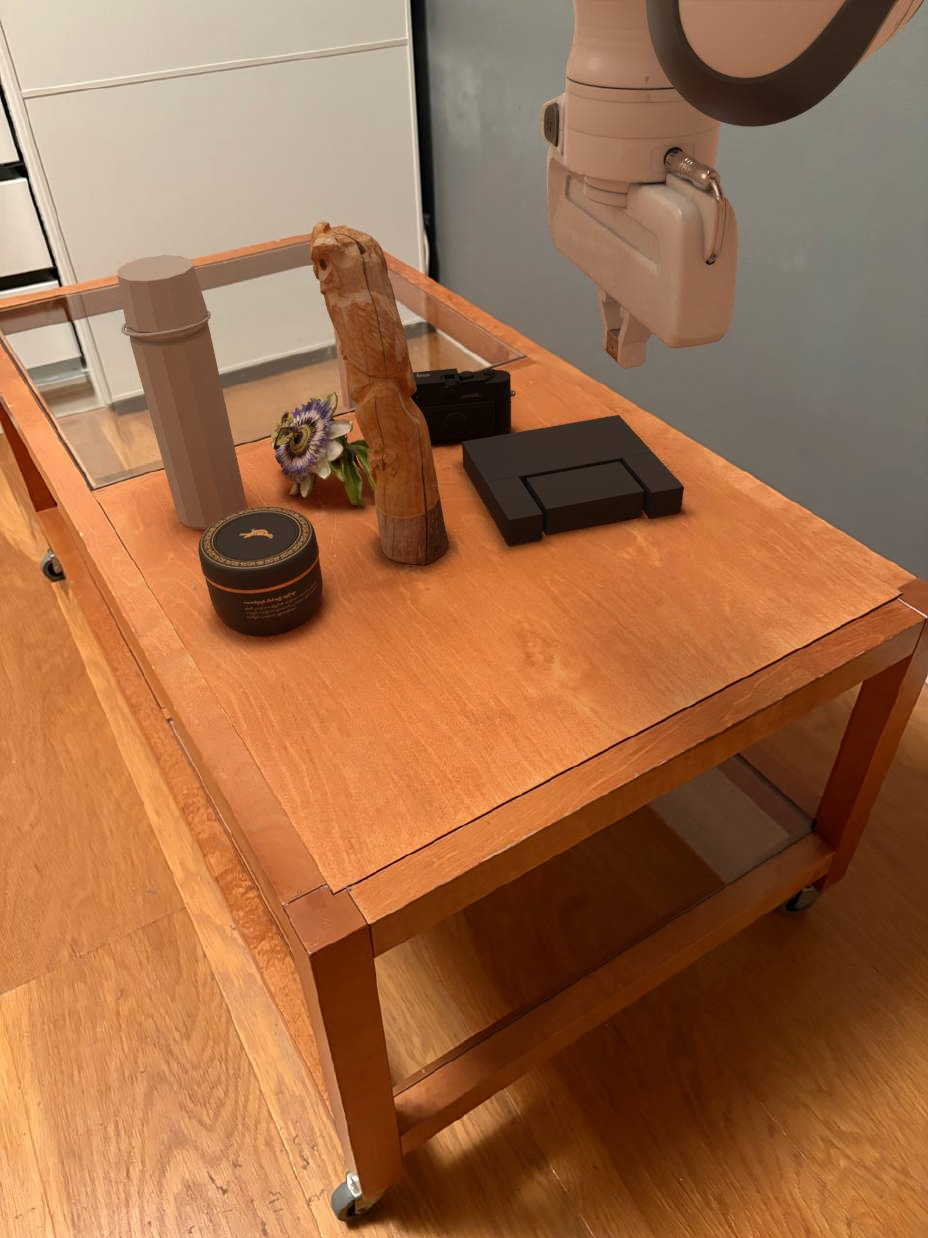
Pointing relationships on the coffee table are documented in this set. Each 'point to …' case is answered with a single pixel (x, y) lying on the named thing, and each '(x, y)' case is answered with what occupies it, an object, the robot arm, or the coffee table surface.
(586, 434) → the base pad
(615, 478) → the black pad
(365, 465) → the passion flower
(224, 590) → the jar
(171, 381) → the water bottle
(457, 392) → the camera
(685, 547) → the coffee table surface
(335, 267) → the sculpture
